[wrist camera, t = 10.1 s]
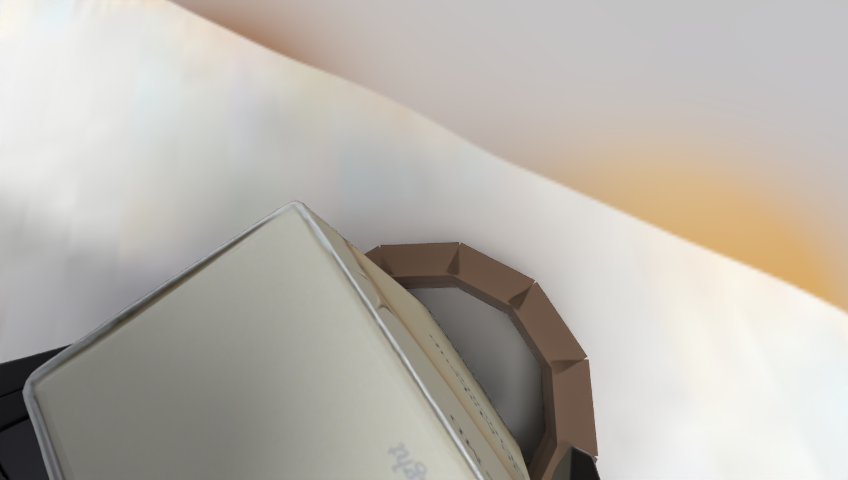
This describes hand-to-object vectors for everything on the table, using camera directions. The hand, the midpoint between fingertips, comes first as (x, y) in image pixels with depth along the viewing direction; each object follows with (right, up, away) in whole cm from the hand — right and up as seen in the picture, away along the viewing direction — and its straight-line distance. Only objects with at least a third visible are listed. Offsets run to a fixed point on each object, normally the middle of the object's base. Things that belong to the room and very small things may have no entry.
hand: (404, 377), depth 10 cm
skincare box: (0, -3, +7) cm, 7 cm away
